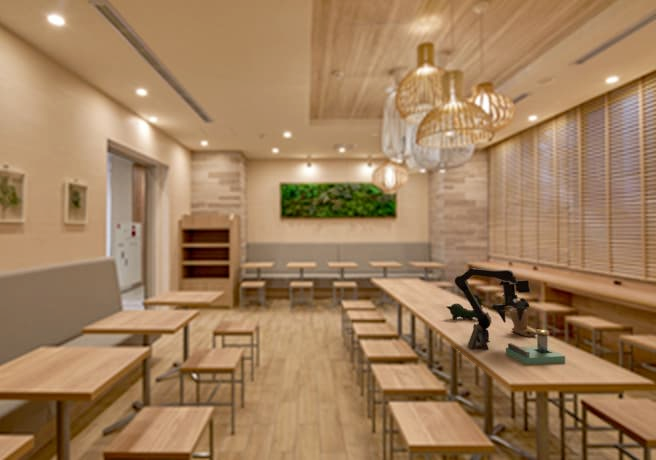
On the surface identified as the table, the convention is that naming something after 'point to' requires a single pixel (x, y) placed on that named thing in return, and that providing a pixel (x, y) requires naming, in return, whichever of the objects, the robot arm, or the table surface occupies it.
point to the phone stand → (473, 339)
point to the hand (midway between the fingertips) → (512, 321)
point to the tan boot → (521, 323)
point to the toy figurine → (464, 310)
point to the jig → (533, 355)
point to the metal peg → (542, 341)
